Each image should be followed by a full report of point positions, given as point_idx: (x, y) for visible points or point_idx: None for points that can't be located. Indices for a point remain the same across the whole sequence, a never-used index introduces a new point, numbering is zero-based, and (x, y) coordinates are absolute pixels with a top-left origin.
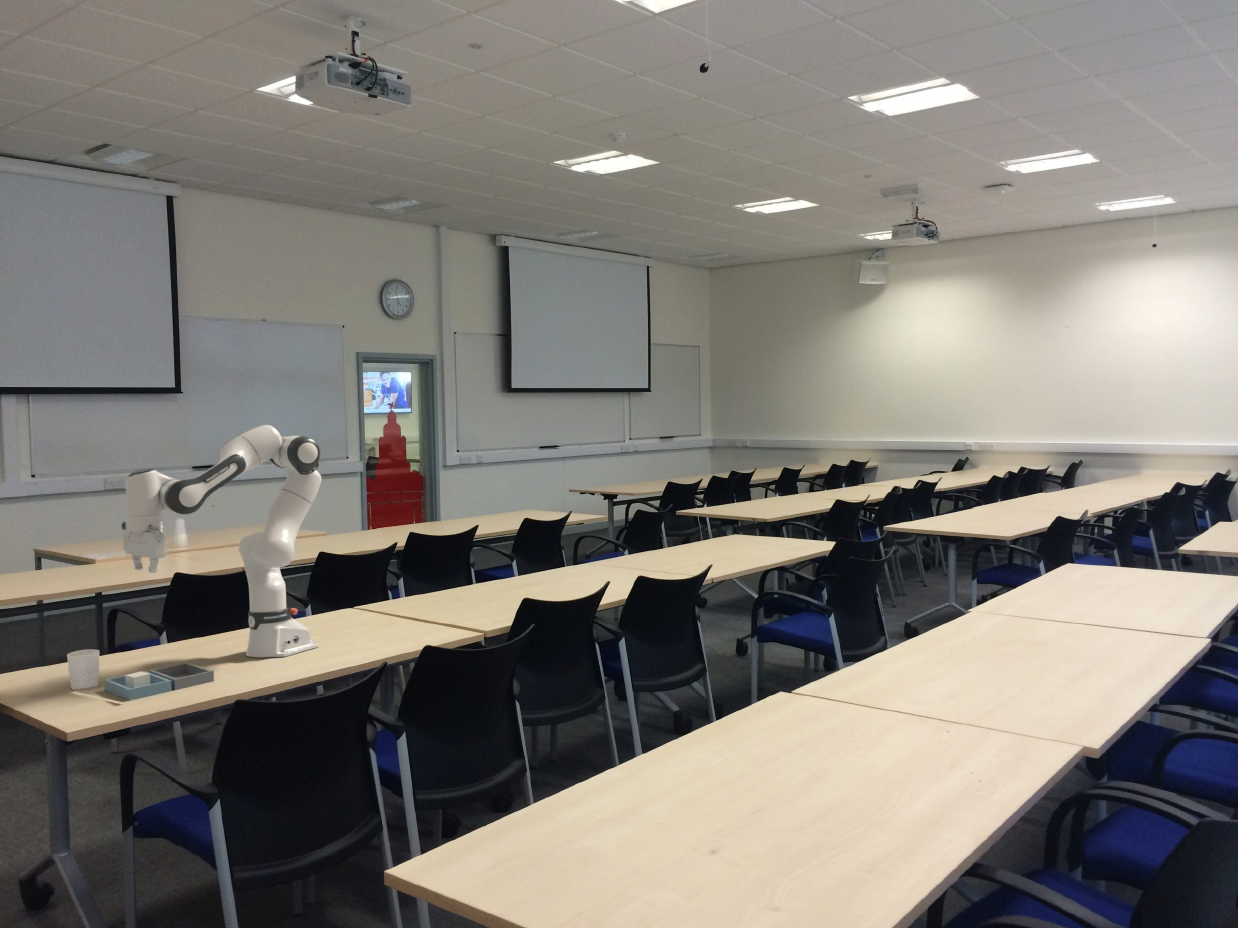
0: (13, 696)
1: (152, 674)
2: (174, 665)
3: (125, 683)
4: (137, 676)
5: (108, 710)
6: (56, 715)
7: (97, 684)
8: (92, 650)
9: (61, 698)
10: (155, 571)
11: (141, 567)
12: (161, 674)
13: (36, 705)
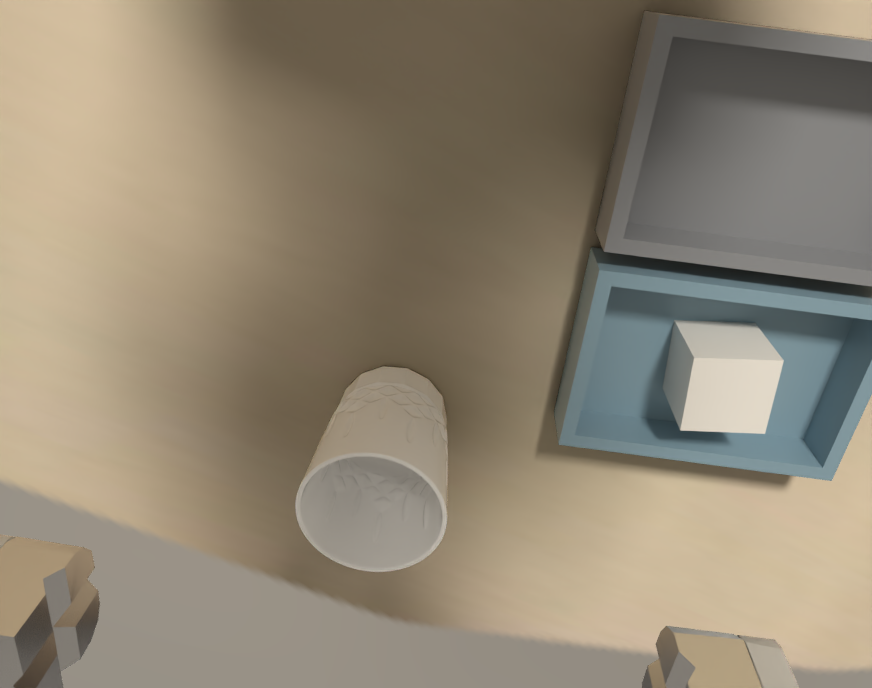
0: (287, 575)
1: (699, 288)
2: (647, 109)
3: (671, 407)
4: (766, 417)
5: (811, 527)
6: (674, 618)
7: (431, 386)
8: (336, 458)
9: (476, 522)
10: (770, 663)
11: (71, 586)
12: (750, 266)
13: (485, 593)
